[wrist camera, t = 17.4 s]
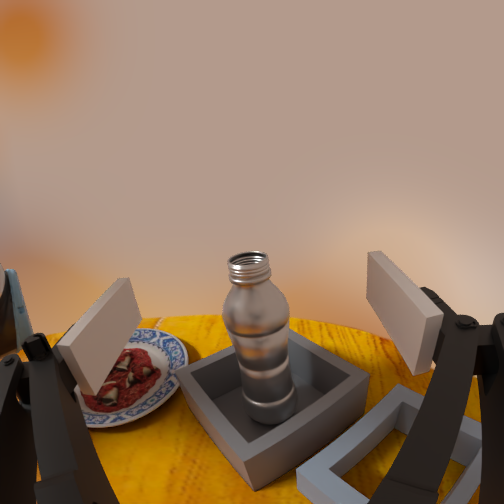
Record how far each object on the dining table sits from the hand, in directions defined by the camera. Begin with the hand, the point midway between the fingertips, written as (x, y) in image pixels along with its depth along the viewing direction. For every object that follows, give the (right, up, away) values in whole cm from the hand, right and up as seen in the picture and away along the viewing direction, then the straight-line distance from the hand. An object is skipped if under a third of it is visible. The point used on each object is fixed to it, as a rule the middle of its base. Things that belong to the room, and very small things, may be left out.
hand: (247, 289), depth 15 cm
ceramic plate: (-22, -19, +27) cm, 39 cm away
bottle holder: (+15, -21, +4) cm, 26 cm away
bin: (+3, -18, +17) cm, 25 cm away
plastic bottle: (+3, -18, +17) cm, 24 cm away
